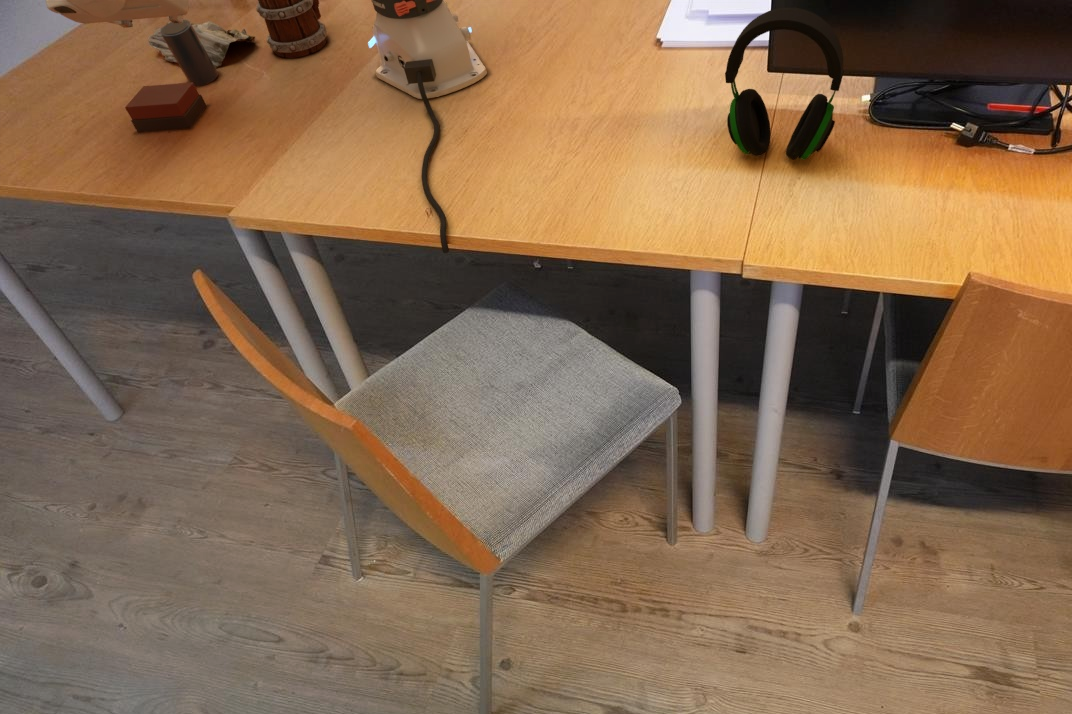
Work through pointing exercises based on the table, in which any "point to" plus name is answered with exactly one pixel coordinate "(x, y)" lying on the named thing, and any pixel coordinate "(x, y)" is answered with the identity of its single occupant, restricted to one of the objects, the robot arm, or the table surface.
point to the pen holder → (189, 52)
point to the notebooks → (166, 107)
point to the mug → (293, 26)
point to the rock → (204, 41)
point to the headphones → (749, 109)
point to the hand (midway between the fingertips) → (153, 21)
